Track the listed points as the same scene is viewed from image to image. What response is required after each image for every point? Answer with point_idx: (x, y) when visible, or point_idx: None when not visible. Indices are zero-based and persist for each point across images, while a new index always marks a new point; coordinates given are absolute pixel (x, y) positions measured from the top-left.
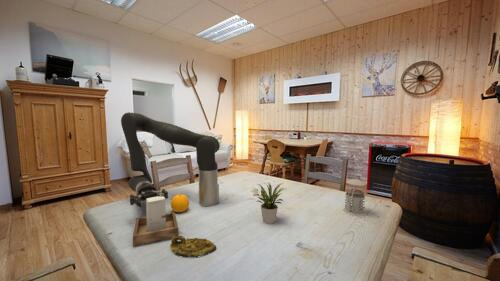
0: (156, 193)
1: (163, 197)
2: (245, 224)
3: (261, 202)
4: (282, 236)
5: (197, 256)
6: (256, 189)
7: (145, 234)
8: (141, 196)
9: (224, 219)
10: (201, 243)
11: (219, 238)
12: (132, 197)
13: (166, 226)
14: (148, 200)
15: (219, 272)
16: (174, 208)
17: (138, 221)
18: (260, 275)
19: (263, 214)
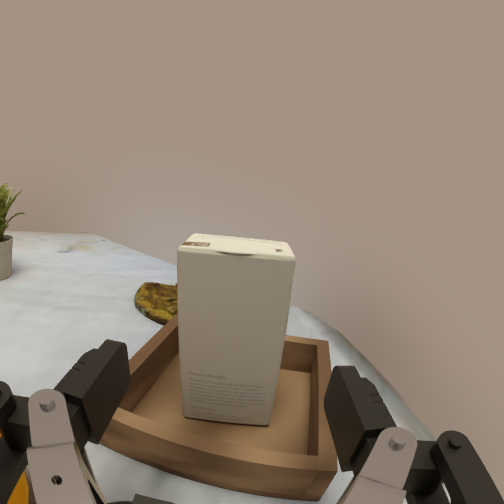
0: (83, 471)
1: (194, 237)
2: (25, 291)
3: (3, 228)
4: (50, 260)
5: None
6: (6, 192)
7: (286, 336)
8: (351, 485)
9: (11, 322)
10: (160, 291)
11: (107, 298)
12: (465, 479)
13: (173, 407)
14: (283, 244)
15: None
16: (24, 475)
17: (318, 425)
18: (150, 256)
19: (7, 257)
